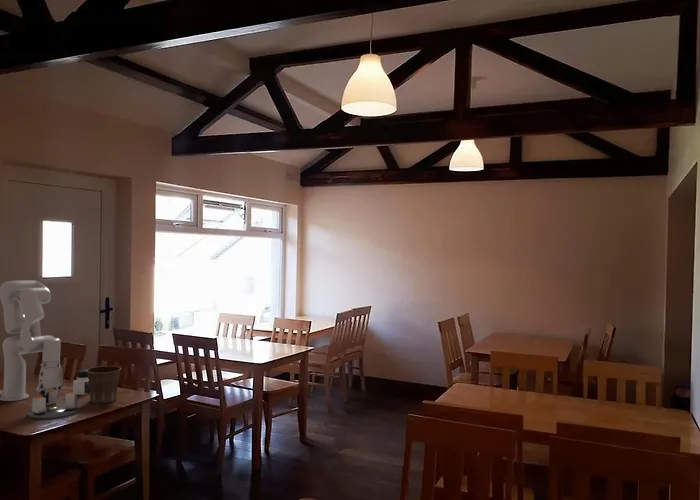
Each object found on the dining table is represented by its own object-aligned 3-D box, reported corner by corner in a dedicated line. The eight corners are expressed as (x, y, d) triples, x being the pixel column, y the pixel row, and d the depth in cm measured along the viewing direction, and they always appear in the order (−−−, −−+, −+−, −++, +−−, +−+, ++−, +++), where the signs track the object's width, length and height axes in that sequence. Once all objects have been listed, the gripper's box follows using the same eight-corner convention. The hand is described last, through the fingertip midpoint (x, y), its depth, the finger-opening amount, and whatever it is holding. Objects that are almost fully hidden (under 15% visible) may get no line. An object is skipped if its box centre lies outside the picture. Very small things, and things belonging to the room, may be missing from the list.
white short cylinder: (63, 410, 264) (64, 394, 264) (67, 407, 269) (68, 391, 269) (74, 410, 265) (75, 394, 265) (78, 407, 270) (79, 391, 270)
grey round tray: (19, 419, 254) (19, 414, 254) (39, 406, 275) (39, 401, 275) (68, 419, 257) (69, 413, 257) (84, 406, 278) (84, 401, 278)
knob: (35, 415, 255) (36, 398, 255) (30, 413, 258) (30, 396, 258) (46, 413, 259) (47, 396, 259) (41, 411, 262) (41, 394, 262)
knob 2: (48, 407, 269) (48, 391, 269) (42, 405, 272) (43, 389, 272) (58, 405, 273) (58, 389, 273) (52, 403, 276) (53, 387, 276)
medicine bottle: (84, 395, 298) (85, 372, 298) (72, 394, 300) (73, 371, 300) (93, 392, 305) (93, 369, 305) (81, 391, 307) (82, 368, 307)
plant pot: (108, 406, 279) (109, 373, 279) (78, 403, 282) (79, 371, 282) (126, 397, 295) (127, 366, 295) (98, 395, 298) (98, 365, 298)
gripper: (40, 368, 263) (39, 407, 263) (71, 361, 279) (70, 398, 279) (29, 366, 266) (28, 404, 266) (60, 360, 282) (59, 396, 282)
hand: (49, 401), depth 273 cm, fingers closed on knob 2, 4 cm apart
